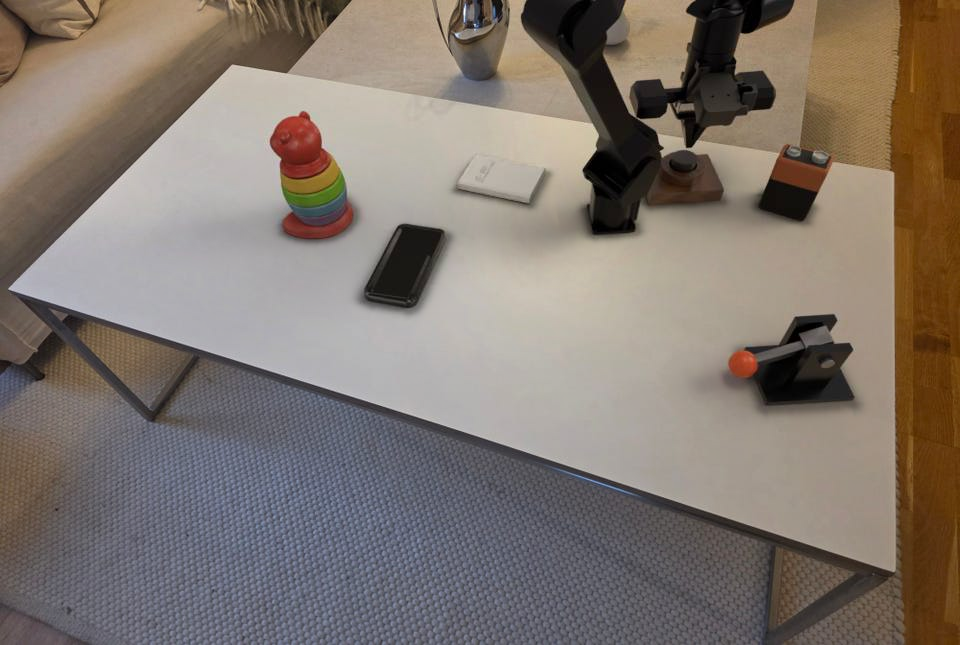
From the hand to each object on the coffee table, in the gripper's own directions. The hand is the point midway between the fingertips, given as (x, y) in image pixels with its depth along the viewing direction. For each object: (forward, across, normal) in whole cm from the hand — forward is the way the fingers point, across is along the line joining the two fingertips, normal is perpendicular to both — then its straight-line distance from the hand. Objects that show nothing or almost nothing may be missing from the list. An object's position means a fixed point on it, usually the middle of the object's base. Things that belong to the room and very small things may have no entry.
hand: (688, 146), depth 88 cm
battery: (+7, +14, -7) cm, 17 cm away
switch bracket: (+7, +5, -37) cm, 38 cm away
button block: (+7, 0, 0) cm, 7 cm away
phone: (+7, -43, -14) cm, 46 cm away
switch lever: (+3, +2, -37) cm, 37 cm away
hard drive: (+7, -28, +4) cm, 29 cm away
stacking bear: (+7, -57, -2) cm, 58 cm away
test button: (+4, 0, 0) cm, 4 cm away
